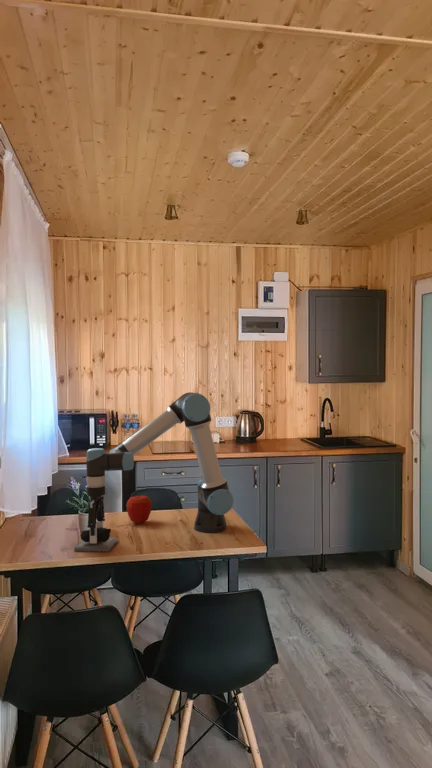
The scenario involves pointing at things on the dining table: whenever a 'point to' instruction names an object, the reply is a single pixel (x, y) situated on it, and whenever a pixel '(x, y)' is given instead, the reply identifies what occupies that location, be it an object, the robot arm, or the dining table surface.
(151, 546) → the dining table surface
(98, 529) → the mineral
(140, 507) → the apple
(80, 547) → the plate
